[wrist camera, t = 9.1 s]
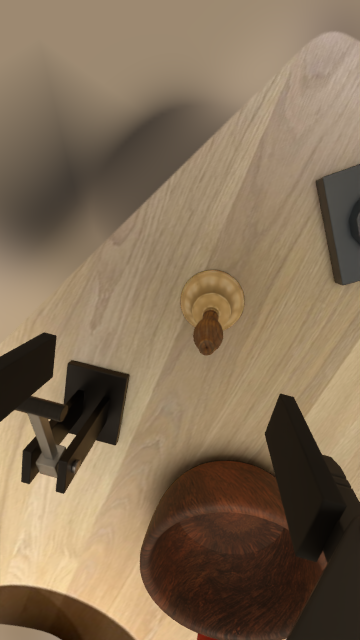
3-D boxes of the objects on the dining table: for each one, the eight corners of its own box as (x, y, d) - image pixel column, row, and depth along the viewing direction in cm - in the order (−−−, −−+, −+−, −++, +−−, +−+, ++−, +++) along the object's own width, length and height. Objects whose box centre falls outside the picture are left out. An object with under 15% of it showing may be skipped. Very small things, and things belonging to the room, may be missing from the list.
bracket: (71, 360, 42) (5, 415, 29) (129, 374, 41) (89, 438, 28) (64, 426, 45) (3, 503, 32) (118, 440, 45) (78, 524, 32)
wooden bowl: (187, 573, 51) (180, 653, 41) (130, 465, 46) (107, 527, 36) (328, 551, 46) (359, 636, 36) (282, 426, 41) (303, 486, 31)
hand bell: (219, 343, 38) (222, 412, 23) (168, 309, 38) (137, 357, 23) (257, 293, 36) (288, 334, 21) (203, 256, 35) (195, 270, 20)
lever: (12, 382, 25) (-7, 405, 24) (69, 397, 25) (55, 421, 23) (38, 449, 34) (26, 469, 32) (81, 461, 34) (71, 482, 32)
